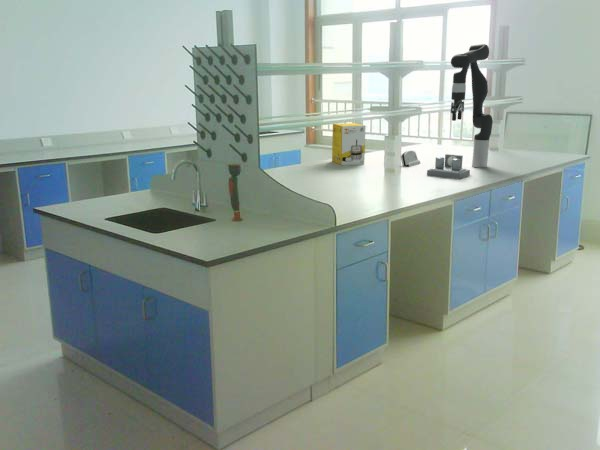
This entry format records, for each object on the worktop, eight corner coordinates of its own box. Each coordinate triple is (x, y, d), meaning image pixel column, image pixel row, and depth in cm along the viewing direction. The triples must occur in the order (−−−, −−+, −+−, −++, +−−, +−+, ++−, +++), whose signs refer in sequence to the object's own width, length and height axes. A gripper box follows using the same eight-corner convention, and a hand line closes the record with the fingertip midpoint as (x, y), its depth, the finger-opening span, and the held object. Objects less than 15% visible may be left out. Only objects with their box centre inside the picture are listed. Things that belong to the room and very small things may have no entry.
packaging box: (354, 160, 407) (355, 123, 401) (364, 164, 392) (365, 125, 386) (332, 161, 402) (332, 123, 396) (341, 165, 387) (342, 126, 381)
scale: (437, 171, 367) (438, 153, 364) (469, 174, 356) (471, 156, 353) (426, 175, 354) (428, 156, 351) (459, 178, 343) (461, 159, 340)
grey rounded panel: (409, 166, 382) (405, 151, 382) (403, 168, 385) (398, 153, 385) (420, 163, 396) (416, 148, 395) (414, 165, 398) (410, 150, 398)
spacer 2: (453, 168, 353) (453, 158, 351) (461, 169, 350) (462, 159, 348) (449, 169, 349) (450, 159, 347) (458, 170, 346) (459, 160, 344)
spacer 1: (437, 166, 358) (437, 156, 357) (445, 167, 356) (445, 157, 354) (433, 168, 354) (434, 158, 353) (441, 168, 352) (442, 158, 350)
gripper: (456, 90, 350) (454, 118, 355) (447, 91, 339) (445, 120, 343) (469, 91, 346) (467, 119, 350) (460, 92, 335) (458, 121, 339)
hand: (456, 120), depth 347 cm, fingers open, 8 cm apart
